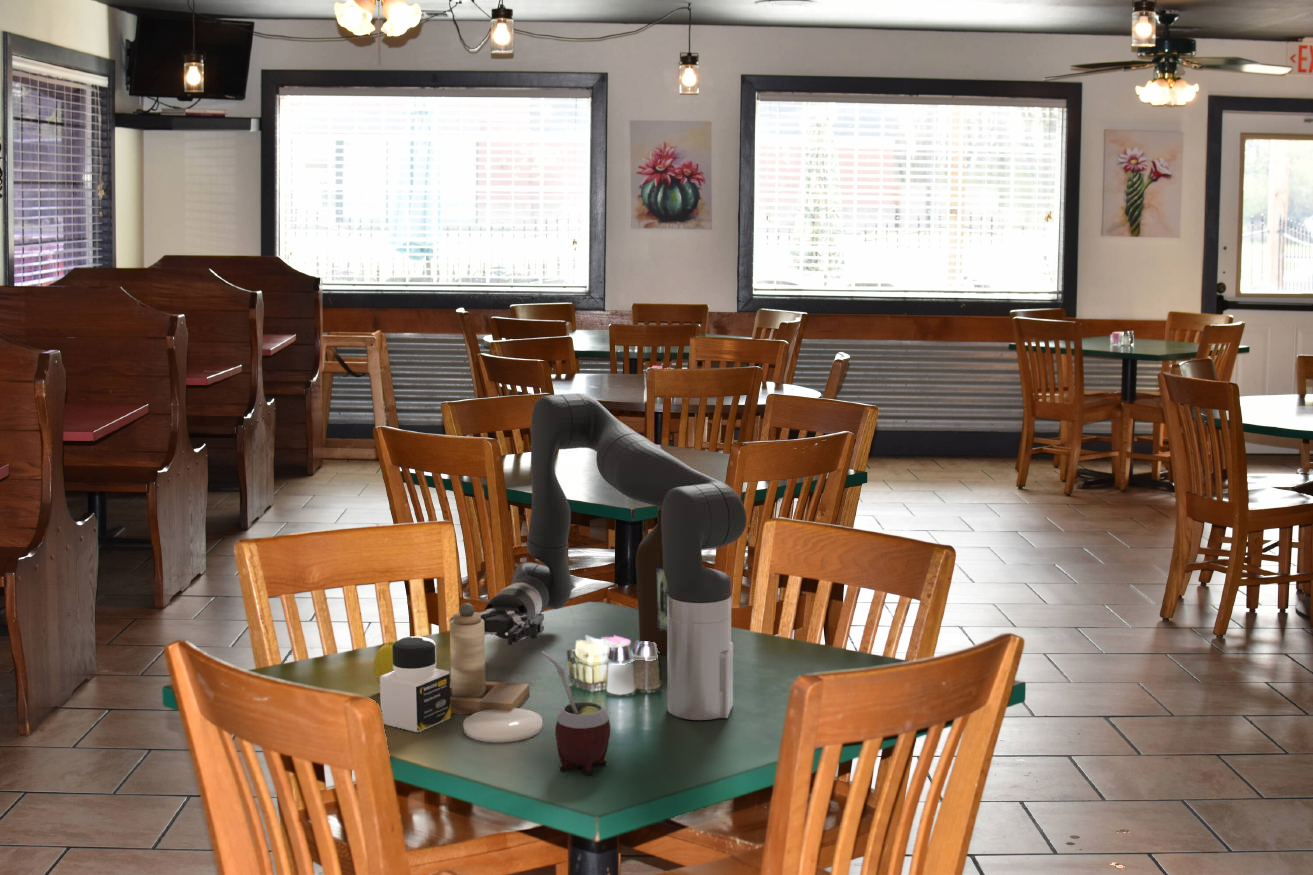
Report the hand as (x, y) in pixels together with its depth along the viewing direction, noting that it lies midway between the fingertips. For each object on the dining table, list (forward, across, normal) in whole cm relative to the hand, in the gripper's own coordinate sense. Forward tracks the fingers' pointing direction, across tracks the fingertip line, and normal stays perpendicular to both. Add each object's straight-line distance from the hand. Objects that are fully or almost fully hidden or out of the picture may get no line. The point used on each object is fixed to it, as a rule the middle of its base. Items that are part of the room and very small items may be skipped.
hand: (483, 637), depth 202 cm
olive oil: (-26, +24, +8) cm, 36 cm away
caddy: (+7, +1, +8) cm, 11 cm away
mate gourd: (+28, +22, +8) cm, 37 cm away
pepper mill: (+7, 0, +8) cm, 11 cm away
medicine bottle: (+16, -5, +8) cm, 18 cm away
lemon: (+4, -13, +8) cm, 16 cm away
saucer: (+16, +8, +8) cm, 20 cm away
